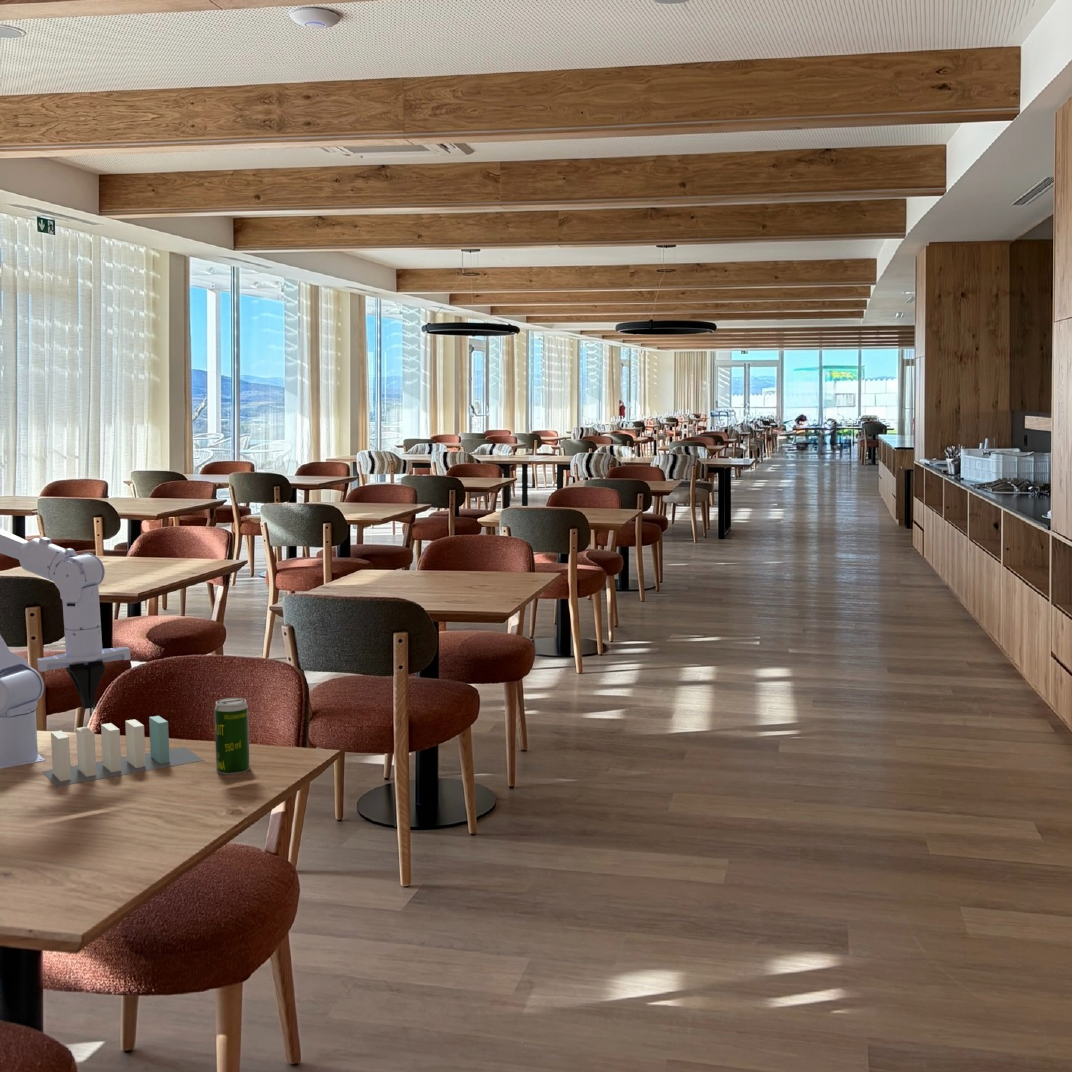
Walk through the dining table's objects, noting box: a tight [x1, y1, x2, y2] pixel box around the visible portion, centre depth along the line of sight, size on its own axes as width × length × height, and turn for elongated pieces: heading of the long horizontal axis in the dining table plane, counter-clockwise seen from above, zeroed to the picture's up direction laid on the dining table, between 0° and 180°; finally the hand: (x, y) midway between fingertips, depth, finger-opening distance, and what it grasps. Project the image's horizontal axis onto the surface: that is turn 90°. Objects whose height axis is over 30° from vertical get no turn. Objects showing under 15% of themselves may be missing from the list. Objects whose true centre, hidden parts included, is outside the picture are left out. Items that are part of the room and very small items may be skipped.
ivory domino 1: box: [50, 730, 71, 781], centre depth 191 cm, size 2×5×7 cm, turn 35°
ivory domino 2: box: [76, 726, 97, 777], centre depth 193 cm, size 2×5×7 cm, turn 35°
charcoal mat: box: [41, 746, 205, 788], centre depth 197 cm, size 10×24×1 cm, turn 126°
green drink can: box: [214, 697, 251, 775], centre depth 194 cm, size 5×5×12 cm
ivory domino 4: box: [124, 718, 146, 768], centre depth 198 cm, size 2×5×7 cm, turn 35°
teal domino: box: [148, 715, 170, 764], centre depth 200 cm, size 2×5×7 cm, turn 36°
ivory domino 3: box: [100, 722, 122, 772], centre depth 196 cm, size 2×5×7 cm, turn 35°
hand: (87, 707), depth 197 cm, fingers closed
